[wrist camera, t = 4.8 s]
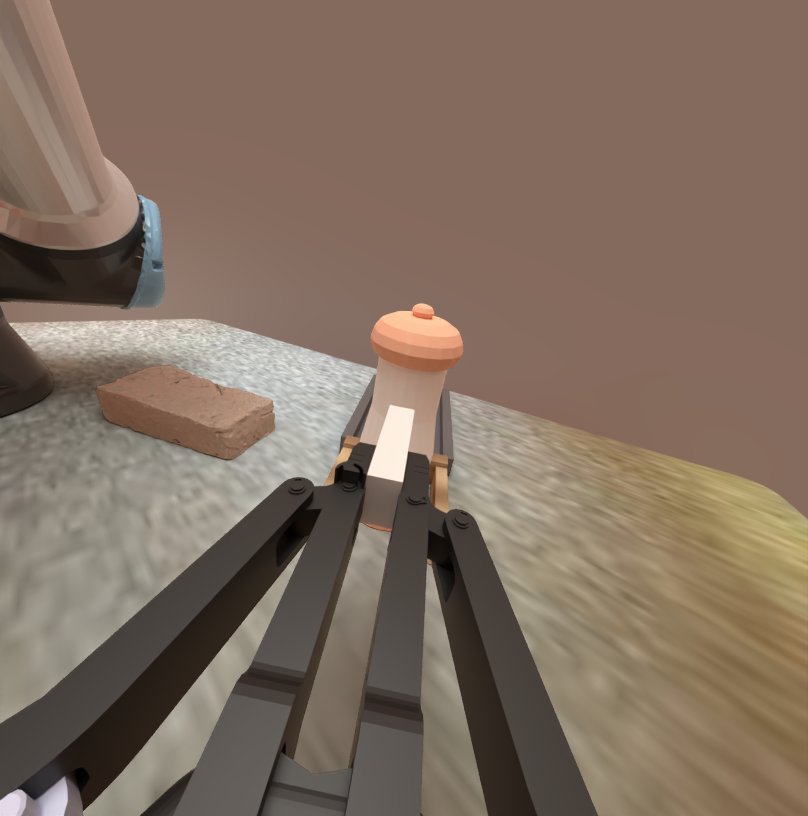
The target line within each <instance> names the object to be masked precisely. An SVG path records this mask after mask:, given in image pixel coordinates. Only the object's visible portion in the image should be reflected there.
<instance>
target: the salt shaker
mask: <svg viewBox="0 0 808 816" xmlns="http://www.w3.org/2000/svg"><path fill="white" fill-rule="evenodd" d="M412 311H413V312H410V311H398V312H395V313H392V314H388V315H385V316H382V318H381V319H380V320H379V321H378V322H377V323H376V324H375V327H374V329H373V332H372V334H371V342H372V346H373V349H374V351H375V352H376V354H377V355H378V356H379V360H378V366H377V373H376V379H375V386H374V393H373V399H372V404H371V407H370V410H369V413H368V416H367V419H366V422H365V426H364V429H363V432H362V435H361V439H360V442H362V443H367V444H372V445H377V443H378V440H379V437H380V434H381V431H382V428H383V425H384V422H385V419H386V416H387V413H388V410H389V406H390V405H393V406H398V407H403V408H408V409H413V410H415V411H414V417H413V424H412V430H411V436H410V442H409V448H408V451H409V452H414V453H419V454H424V455H426V456H427V458H428V459H429V461H430V462H431V459H432V456H433V451H434V438H435V425H436V414H437V410H438V405H439V401H440V397H441V393H442V389H443V385H444V380H445V377H446V372H447V369H450V368H452V367H453V366H454V365H455V364H456V363H457V361H458V360H459V358H460V357H461V355H462V353H463V342H462V339H461V336H460V333H459V331H458V330H457V329H456V328H455V327H453V326H452V325H451V324H449V323H448V322H447V321H445V320H443V319H441V318H439V317H435V316H433V315H434V312H433V308H432V307H430V306H429V305H425V304H418V305H415V306H414V307H413V309H412ZM364 524H365V525H368V526H370V527H373V528H375V529H379V530H386V531H392V529H390V528H386V527H381V526H376V525H371V524H367V523H364Z"/></svg>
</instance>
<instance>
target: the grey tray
mask: <svg viewBox="0 0 808 816" xmlns="http://www.w3.org/2000/svg"><path fill="white" fill-rule="evenodd" d="M375 379H376V375H374V376H373V378H372V379H371V381H370V383H369V385H368V387H367V389H366V391H365V393H364V394H363V396H362V398H361V400H360V402H359V404H358V406H357V408H356V409H355V411H354V413H353V415H352V417H351V419H350V421H349V423H348V424H347V426H346V428H345V430H344V432H343V434H342V436H341V442H340V452H341V450H342V448H343V444H344V441H345V439H346V437H347V435H348V436H353V437H357V438H361V435H362V432H363V429H364V426H365V422H366V419H367V416H368V413H369V410H370V407H371V404H372V399H373V393H374V386H375ZM433 453H435V454H440V455H445V456H448V466H447V476H449V473H450V470H451V467H452V464H453V460H454V457H453V441H452V426H451V410H450V394H449V390H447V389H442V393H441V397H440V401H439V405H438V410H437V414H436V425H435V438H434V451H433ZM339 454H340V453H339Z"/></svg>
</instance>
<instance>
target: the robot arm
mask: <svg viewBox="0 0 808 816" xmlns="http://www.w3.org/2000/svg"><path fill="white" fill-rule="evenodd" d="M164 285H165V283H164V266H163V243H162V231H161V221H160V213H159V209H158V207H157V205H156V204H155V203H154V202H153V201H151V200H148V199H145V198H144V197H143V196H141V195H136V193H135V191H134V189H133V187H132V185H131V183H130V182H129V180H128V179H127V177H126V176H125V175H124V174H123V173H122V172H121V171H120V170H119V169H118V168H117V167H116V166H115V165H114V164H113V163H111V162H110V161H109V160H107V159H106V158H105V157H103V155H102V152H101V150H100V146H99V144H98V141H97V138H96V135H95V132H94V129H93V126H92V123H91V120H90V117H89V114H88V111H87V109H86V106H85V103H84V100H83V97H82V94H81V91H80V88H79V86H78V82H77V80H76V77H75V74H74V71H73V68H72V65H71V62H70V59H69V56H68V53H67V51H66V48H65V45H64V42H63V39H62V36H61V33H60V30H59V28H58V25H57V21H56V19H55V16H54V13H53V10H52V7H51V4H50V1H49V0H0V302H19V303H41V304H62V305H83V306H102V307H117V308H121V309H130V308H153V307H156V306H159V305H160V304H161V303H162V302H163V299H164V291H165V286H164ZM53 388H54V383H53V380H52V377H51V375H50V372H49V369H48V367H47V366H46V364H45V363H44V362H43V361H42V360H41V359H40V358H39V357H38V355H37V354H36V353H35V352H34V351H33V350H32V349H31V348H30V347H29V346H28V344H27V343H26V342H25V341H24V340H23V339H22V338H21V337H20V336H19V335H18V334H17V332H16V331H15V330H14V329H13V328H12V327H11V326H10V325H9V324H8V322H7V320H6V318H5V316H4V314H3V311H2V309H1V306H0V416H3V415H6V414H9V413H12V412H15V411H18V410H21V409H23V408H26V407H28V406H30V405H32V404H34V403H36V402H38V401H40V400H42V399H43V398H45V397H46V396H47V395H48V394H49V393H50V392H51V391H52V390H53ZM414 411H415V410H413V409H408V408H403V407H398V406H393V405H390V406H389V410H388V413H387V416H386V419H385V422H384V425H383V428H382V431H381V434H380V437H379V440H378V443H377V445H372V444H367V443H362V442H359V443H358V444H356V445H355V446H354V447H353V449H352V451H351V454H350V456H349V458H348V460H347V461H345V462H342V463H340V464H338V465H337V466H336V467H335V476H334V483H333V484H331V485H327V486H314V485H313V483H312V482H311V481H310V480H308V479H306V478H302V477H296V478H291V479H288V480H287V481H285V482H284V483H282V484H281V485H280V486H279V487H278V488H277V489H276V490H275V491H273V492H272V493H271V494H270V495H269V496H268V497H267V498H266V499H264V500H263V501H262V502H261V503H260V504H259V505H258V506H257V507H255V508H254V509H253V510H252V511H251V512H250V513H249V514H248V515H246V516H245V517H244V518H243V519H242V520H241V521H240V522H239V523H238V524H236V525H235V526H234V527H233V528H232V529H231V530H230V531H229V532H227V533H226V534H225V535H224V536H223V537H222V538H221V539H220V540H218V541H217V542H216V543H215V544H214V545H213V546H212V547H211V548H209V549H208V550H207V551H206V552H205V553H204V554H203V555H202V556H201V557H199V558H198V559H197V560H196V561H195V562H194V563H193V564H192V565H190V566H189V567H188V568H187V569H186V570H185V571H184V572H183V573H181V574H180V575H179V576H178V577H177V578H176V579H175V580H174V581H172V582H171V583H170V584H169V585H168V586H167V587H166V588H165V589H163V590H162V591H161V592H160V593H159V594H158V595H157V596H156V597H155V598H153V599H152V600H151V601H150V602H149V603H148V604H147V605H146V606H144V607H143V608H142V609H141V610H140V611H139V612H138V613H137V614H135V615H134V616H133V617H132V618H131V619H130V620H129V621H128V622H126V623H125V624H124V625H123V626H122V627H121V628H120V629H119V630H117V631H116V632H115V633H114V634H113V635H112V636H111V637H110V638H109V639H107V640H106V641H105V642H104V643H103V644H102V645H101V646H100V647H98V648H97V649H96V650H95V651H94V652H93V653H92V654H91V655H89V656H88V657H87V658H86V659H85V660H84V661H83V662H82V663H80V664H79V665H78V666H77V667H76V668H75V669H74V670H73V671H72V672H70V673H69V674H68V675H67V676H66V677H65V678H64V679H63V680H61V681H60V682H59V683H58V684H57V685H56V686H55V687H54V688H52V689H51V690H50V691H49V692H48V693H47V694H46V695H45V696H43V697H42V698H40V699H39V700H37V701H36V702H34V703H32V704H31V705H29V706H28V707H26V708H24V709H23V710H21V711H20V712H18V713H17V714H15V715H13V716H12V717H10V718H9V719H7V720H6V721H4V722H2V723H1V724H0V816H83V811H84V810H85V809H86V808H87V807H88V806H89V805H90V804H91V803H93V802H94V800H95V799H96V798H97V797H98V796H99V795H100V794H101V793H102V792H103V791H104V790H105V789H106V788H107V787H108V786H109V785H110V784H111V783H112V782H113V781H114V780H115V779H116V778H117V777H118V776H119V774H120V773H121V772H122V771H123V770H124V769H125V768H126V766H127V765H128V764H129V763H130V762H131V761H132V759H133V758H134V757H135V756H136V755H137V753H138V752H139V751H140V750H141V749H142V748H143V746H144V745H145V744H146V743H147V741H148V740H149V739H150V738H151V736H152V735H153V734H154V733H155V731H156V730H157V729H158V728H159V726H160V725H161V724H162V723H163V721H164V720H165V719H166V718H167V716H168V715H169V714H170V713H171V711H172V710H173V709H174V708H175V706H176V705H177V704H178V703H179V701H180V700H181V699H182V697H183V696H184V695H185V694H186V692H187V691H188V690H189V689H190V687H191V686H192V685H193V684H194V682H195V681H196V680H197V679H198V677H199V676H200V675H201V674H202V672H203V671H204V670H205V669H206V667H207V666H208V665H209V664H210V662H211V661H212V660H213V659H214V657H215V656H216V655H217V654H218V652H219V651H220V650H221V648H222V647H223V646H224V645H225V643H226V642H227V641H228V640H229V638H230V637H231V636H232V635H233V633H234V632H235V631H236V630H237V628H238V627H239V626H240V625H241V623H242V622H243V621H244V620H245V618H246V617H247V616H248V615H249V613H250V612H251V611H252V610H253V608H254V607H255V606H256V605H257V603H258V602H259V601H260V600H261V598H262V597H263V596H264V594H265V593H266V592H267V591H268V589H269V588H270V587H271V586H272V584H273V583H274V582H275V581H276V579H277V578H278V577H279V576H280V574H281V573H282V572H283V571H284V569H285V568H286V567H287V566H288V564H289V563H290V562H291V561H292V559H293V558H294V557H295V556H296V554H297V553H298V552H299V551H300V549H301V548H302V547H303V546H304V544H305V543H306V542H307V543H306V545H305V547H304V550H303V552H302V554H301V556H300V558H299V561H298V563H297V565H296V567H295V569H294V572H293V574H292V576H291V578H290V580H289V583H288V585H287V587H286V589H285V591H284V594H283V596H282V598H281V600H280V602H279V605H278V607H277V609H276V611H275V613H274V616H273V618H272V620H271V622H270V624H269V626H268V629H267V631H266V633H265V635H264V637H263V640H262V642H261V644H260V646H259V648H258V651H257V653H256V655H255V657H254V659H253V662H252V664H251V666H250V667H249V669H248V670H247V671H246V672H245V673H244V674H242V675H241V677H240V678H239V680H238V681H237V682H236V684H235V686H234V688H233V690H232V692H231V694H230V696H229V698H228V700H227V703H226V705H225V707H224V709H223V711H222V713H221V715H220V717H219V720H218V722H217V724H216V726H215V728H214V730H213V732H212V734H211V736H210V739H209V741H208V743H207V745H206V747H205V749H204V751H203V753H202V756H201V758H200V760H199V762H198V764H197V766H196V768H195V769H193V770H191V771H190V772H189V773H187V774H186V775H185V776H184V777H182V778H181V779H180V780H178V781H177V782H176V783H175V784H174V785H173V786H172V787H170V788H169V789H168V790H167V791H166V792H165V793H164V794H163V795H162V796H161V797H160V798H159V799H157V800H156V801H155V802H154V803H153V804H152V805H151V806H150V807H149V808H148V809H147V810H146V811H145V812H143V813H142V814H141V815H140V816H423V815H422V813H421V812H420V808H421V782H422V755H423V714H422V711H421V706H420V697H421V676H422V655H423V634H424V613H425V592H426V571H427V558H428V559H429V560H431V562H432V568H433V573H434V577H435V581H436V586H437V590H438V595H439V599H440V604H441V608H442V612H443V617H444V621H445V626H446V630H447V635H448V639H449V643H450V648H451V652H452V657H453V661H454V665H455V670H456V674H457V679H458V683H459V688H460V692H461V696H462V701H463V705H464V710H465V714H466V719H467V723H468V727H469V732H470V736H471V741H472V745H473V750H474V754H475V758H476V763H477V767H478V772H479V776H480V780H481V785H482V789H483V794H484V798H485V803H486V807H487V811H488V816H598V815H597V812H596V810H595V807H594V805H593V803H592V800H591V798H590V795H589V793H588V790H587V788H586V786H585V783H584V781H583V778H582V776H581V774H580V771H579V769H578V766H577V764H576V761H575V759H574V757H573V754H572V752H571V749H570V747H569V745H568V742H567V740H566V737H565V735H564V733H563V730H562V728H561V725H560V723H559V720H558V718H557V716H556V713H555V711H554V708H553V706H552V704H551V701H550V699H549V696H548V694H547V691H546V689H545V687H544V684H543V682H542V679H541V677H540V675H539V672H538V670H537V667H536V665H535V663H534V660H533V658H532V655H531V653H530V650H529V648H528V646H527V643H526V641H525V638H524V636H523V634H522V631H521V629H520V626H519V624H518V621H517V619H516V617H515V614H514V612H513V609H512V607H511V605H510V602H509V600H508V597H507V595H506V593H505V590H504V588H503V585H502V583H501V580H500V578H499V576H498V573H497V571H496V568H495V566H494V564H493V561H492V559H491V556H490V554H489V551H488V549H487V547H486V544H485V542H484V539H483V537H482V535H481V532H480V530H479V527H478V525H477V523H476V521H475V519H474V518H473V517H472V516H471V515H470V514H469V513H467V512H465V511H463V510H458V509H454V510H450V511H449V512H447V513H445V512H443V511H441V510H439V509H437V508H436V507H435V506H434V505H432V503H431V502H430V500H429V498H428V486H429V467H430V461H429V459H428V458H427V456H426V455H424V454H419V453H414V452H409V451H408V448H409V442H410V436H411V430H412V424H413V417H414ZM359 522H362V523H367V524H371V525H376V526H381V527H386V528H390V529H392V532H391V536H390V541H389V545H388V550H387V551H388V552H387V558H386V563H385V569H384V575H383V580H382V586H381V591H380V597H379V602H378V608H377V614H376V619H375V625H374V630H373V636H372V641H371V647H370V652H369V658H368V664H367V669H366V675H365V680H364V686H363V691H362V697H361V703H360V708H359V714H358V719H357V725H356V730H355V736H354V741H353V746H352V751H351V756H350V761H349V766H348V769H344V770H338V771H332V772H326V773H320V774H313V773H311V772H309V771H308V770H306V769H305V768H303V767H302V766H300V765H299V764H298V763H296V762H295V761H293V758H294V754H295V750H296V746H297V742H298V737H299V733H300V729H301V725H302V721H303V718H304V714H305V711H306V707H307V704H308V700H309V697H310V694H311V690H312V687H313V683H314V680H315V676H316V673H317V670H318V666H319V663H320V659H321V656H322V652H323V649H324V645H325V642H326V639H327V635H328V632H329V628H330V625H331V621H332V618H333V615H334V611H335V608H336V604H337V601H338V597H339V594H340V591H341V587H342V584H343V580H344V577H345V573H346V570H347V567H348V563H349V560H350V556H351V553H352V549H353V546H354V543H355V539H356V536H357V532H358V526H359ZM307 540H308V541H307Z"/></svg>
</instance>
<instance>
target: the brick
mask: <svg viewBox="0 0 808 816" xmlns="http://www.w3.org/2000/svg"><path fill="white" fill-rule="evenodd" d="M96 393H97V395H98V399H99V404H100V405H101V406H100V407H101V408H102V411H103V414H104V416H105V418H106V419H107V420H109V421H110V422H113V423H115V424H118V425H120V426H122V427H130V428H132V430H133V431H140V432H142V433H144V434H147V435H150V436H153V437H155V438H159V439H163V440H165V441H169V442H172V443H176V444H178V445H181V446H184V447H188V448H192V449H194V450H196V451H199V452H202V453H206V454H210V455H213V456H217V457H219V458H223V459H230V460H231V459H233V458H235V457H237V456H238V455H241V454H242V453H244V452H245V450H246V449H247V448H249V447H250V446H251V445H253V444H255V443H256V442H257V441H258V440H261V439H262V438H264V437H266V436H267V435H269V434H270V433H271V432H272V431H273V430H274V428H275V425H274V419H275V414H274V413H273V412H272V411H273V407H274V406H273V401H272V400H270V399H267V398H265V397H261V396H257V395H255V394H253V393H250V392H247V391H241V390H239V389H233V388H229V387H222V386H220V385H217V384H214V383H213V382H212V381H210V380H207V379H204V378H202V379H200V378H198V377H196V376H195V375H192V374H191V373H187V372H186V371H184V370H180V369H177V368H175V367H172V366H169V365H160V366H154V367H149V368H146V369H144V370H141V371H138V372H136V373H133V374H129V375H126V376H124V377H123V378H120V379H116V380H114V381H113V382H111V383H108V384H104V385H101V386H97V388H96Z"/></svg>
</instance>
